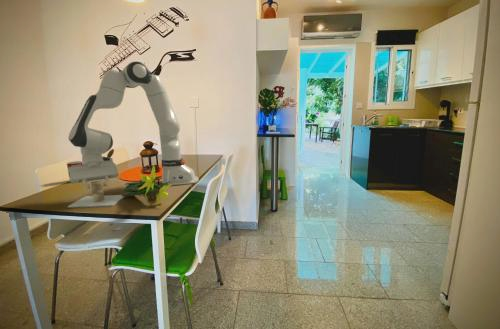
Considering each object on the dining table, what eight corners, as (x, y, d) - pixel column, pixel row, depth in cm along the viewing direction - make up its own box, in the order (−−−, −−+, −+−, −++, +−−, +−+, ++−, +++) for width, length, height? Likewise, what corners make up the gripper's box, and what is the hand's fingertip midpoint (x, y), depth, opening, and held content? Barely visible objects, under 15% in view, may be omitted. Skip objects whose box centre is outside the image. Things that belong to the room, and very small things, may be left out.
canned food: (79, 178, 163) (76, 160, 160) (87, 179, 160) (84, 161, 158) (67, 181, 156) (63, 163, 153) (75, 182, 153) (72, 163, 150)
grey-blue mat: (126, 195, 127) (126, 194, 127) (113, 205, 113) (113, 204, 113) (85, 197, 125) (85, 196, 125) (68, 207, 112) (67, 206, 112)
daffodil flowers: (147, 191, 136) (187, 186, 114) (128, 211, 126) (168, 210, 105) (126, 168, 128) (164, 158, 107) (104, 188, 118) (141, 182, 97)
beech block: (103, 198, 122) (101, 180, 120) (104, 200, 118) (102, 182, 117) (93, 199, 120) (90, 182, 118) (93, 202, 116) (90, 184, 114)
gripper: (66, 162, 115) (69, 187, 109) (115, 157, 126) (120, 179, 120) (68, 169, 120) (71, 194, 114) (115, 164, 131) (120, 186, 125)
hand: (96, 186), depth 117 cm, fingers open, 5 cm apart
